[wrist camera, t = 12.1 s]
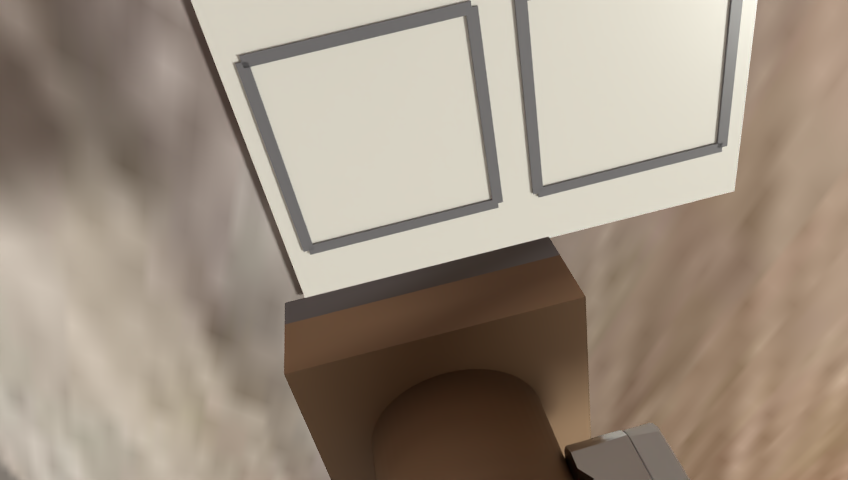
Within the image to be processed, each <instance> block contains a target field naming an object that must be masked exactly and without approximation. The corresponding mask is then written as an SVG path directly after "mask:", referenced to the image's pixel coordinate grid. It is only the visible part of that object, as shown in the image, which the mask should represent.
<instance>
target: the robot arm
mask: <svg viewBox="0 0 848 480" xmlns="http://www.w3.org/2000/svg"><path fill="white" fill-rule="evenodd" d="M564 454H565V460H566V462H567V465H568V467H569V469H570V472H571V474H572V477H573V479H574V480H690V478H689V477H688V475H687V474H686V472H685V470H684V469H683V467H682V465H681V464H680V462H679V460H678V459H677V457H676V456H675V454H674V452H673V451H672V449H671V447H670V446H669V444H668V442H667V441H666V439H665V438H664V436H663V434H662V433H661V431H660V429H659V428H658V427H657V426H656V425H654V424H653V423H647V424H643V425H640V426H636V427H633V428H629V429H626V430H622V431H621V430H619V431H615V432H612V433H608V434H605V435H601V436H598V437H595V438H591V439H588V440H584V441H581V442H577V443H574V444H570V445H567V446H565V449H564Z"/></svg>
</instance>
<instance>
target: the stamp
mask: <svg viewBox="0 0 848 480" xmlns="http://www.w3.org/2000/svg"><path fill="white" fill-rule="evenodd" d="M284 375H285V377H286V379H287V381H288V384H289V386H290V388H291V390H292V393H293V395H294V397H295V399H296V402H297V404H298V406H299V408H300V411H301V413H302V415H303V417H304V420H305V422H306V424H307V426H308V429H309V431H310V433H311V435H312V438H313V440H314V442H315V444H316V447H317V449H318V451H319V453H320V456H321V458H322V460H323V462H324V465H325V467H326V469H327V471H328V474H329V476H330V478H331V480H574V479H573V477H572V474H571V472H570V469H569V467H568V465H567V462H566V460H565V454H564V449H565V446H567V445H570V444H574V443H577V442H581V441H584V440H588V439H591V427H590V401H589V375H588V349H587V323H586V297H585V295H584V294H583V292H582V290H581V289H580V287H579V285H578V284H577V282H576V281H575V279H574V277H573V276H572V274H571V272H570V271H569V269H568V267H567V266H566V264H565V263H564V261H563V259H562V258H561V256H560V254H559V253H558V251H557V250H556V248H555V246H554V245H553V243H552V241H551V240H550V238H549V237H545V238H541V239H537V240H533V241H529V242H525V243H521V244H517V245H513V246H509V247H505V248H501V249H497V250H493V251H489V252H485V253H481V254H477V255H473V256H469V257H465V258H461V259H457V260H453V261H449V262H445V263H441V264H437V265H434V266H430V267H426V268H422V269H418V270H414V271H410V272H406V273H402V274H398V275H394V276H390V277H386V278H382V279H378V280H374V281H370V282H366V283H362V284H358V285H354V286H350V287H346V288H342V289H338V290H334V291H330V292H326V293H322V294H318V295H314V296H311V297H307V298H303V299H299V300H295V301H291V302H287V303H285V353H284Z"/></svg>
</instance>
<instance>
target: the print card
mask: <svg viewBox="0 0 848 480" xmlns="http://www.w3.org/2000/svg"><path fill="white" fill-rule="evenodd" d="M191 2H192V5H193V7H194V10H195V13H196V15H197V18H198V20H199V23H200V26H201V28H202V31H203V33H204V36H205V39H206V41H207V44H208V46H209V49H210V52H211V54H212V57H213V59H214V62H215V65H216V67H217V70H218V72H219V75H220V78H221V80H222V83H223V85H224V88H225V91H226V93H227V96H228V99H229V101H230V104H231V106H232V109H233V112H234V114H235V117H236V119H237V122H238V125H239V127H240V130H241V132H242V135H243V138H244V140H245V143H246V145H247V148H248V151H249V153H250V156H251V158H252V161H253V164H254V166H255V169H256V171H257V174H258V177H259V179H260V182H261V184H262V187H263V190H264V192H265V195H266V198H267V200H268V203H269V205H270V208H271V211H272V213H273V216H274V218H275V221H276V224H277V226H278V229H279V231H280V234H281V237H282V239H283V242H284V244H285V247H286V250H287V252H288V255H289V257H290V260H291V263H292V265H293V268H294V270H295V273H296V276H297V278H298V281H299V284H300V286H301V289H302V291H303V294H304V297H305V298H307V297H311V296H314V295H318V294H322V293H326V292H330V291H334V290H338V289H342V288H346V287H350V286H354V285H358V284H362V283H366V282H370V281H374V280H378V279H382V278H386V277H390V276H394V275H398V274H402V273H406V272H410V271H414V270H418V269H422V268H426V267H430V266H434V265H437V264H441V263H445V262H449V261H453V260H457V259H461V258H465V257H469V256H473V255H477V254H481V253H485V252H489V251H493V250H497V249H501V248H505V247H509V246H513V245H517V244H521V243H525V242H529V241H533V240H537V239H541V238H545V237H549V238H551V237H555V236H559V235H563V234H567V233H571V232H575V231H579V230H583V229H587V228H591V227H595V226H598V225H602V224H606V223H610V222H614V221H618V220H622V219H626V218H630V217H634V216H638V215H642V214H646V213H650V212H654V211H658V210H662V209H666V208H670V207H673V206H677V205H681V204H685V203H689V202H693V201H697V200H701V199H705V198H709V197H713V196H717V195H721V194H725V193H729V192H733V191H734V190H735V181H736V173H737V165H738V157H739V148H740V140H741V132H742V124H743V115H744V107H745V99H746V90H747V82H748V74H749V66H750V57H751V49H752V41H753V33H754V24H755V16H756V8H757V0H191Z"/></svg>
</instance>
